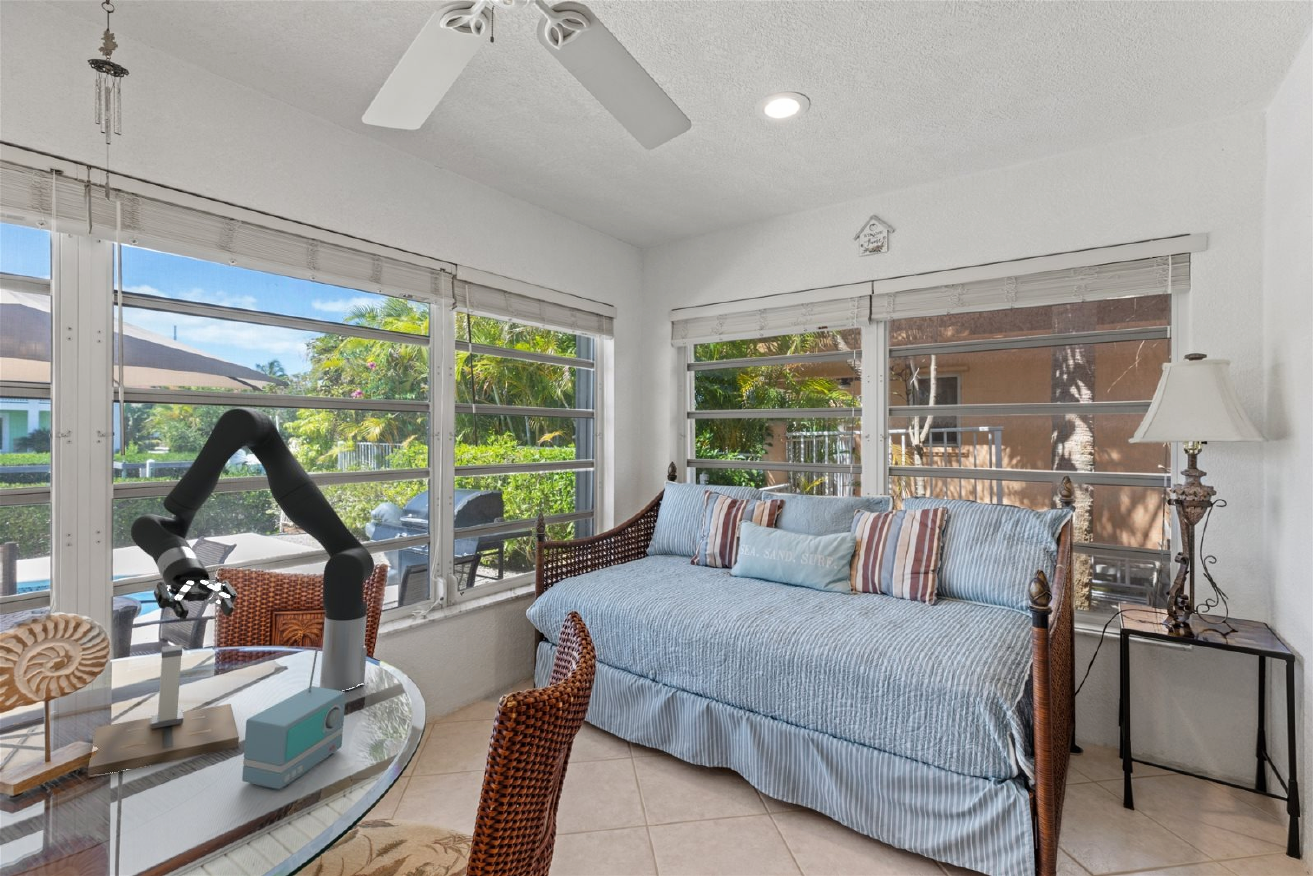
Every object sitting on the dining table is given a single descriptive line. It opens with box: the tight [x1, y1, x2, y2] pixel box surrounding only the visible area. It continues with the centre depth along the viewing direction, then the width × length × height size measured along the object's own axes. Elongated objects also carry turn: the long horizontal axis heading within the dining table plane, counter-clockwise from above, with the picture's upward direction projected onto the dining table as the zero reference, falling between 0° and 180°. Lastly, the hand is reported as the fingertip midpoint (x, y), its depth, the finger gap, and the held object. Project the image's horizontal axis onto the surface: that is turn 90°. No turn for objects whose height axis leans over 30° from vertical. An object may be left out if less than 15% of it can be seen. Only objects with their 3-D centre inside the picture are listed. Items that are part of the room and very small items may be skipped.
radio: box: [241, 648, 346, 790], centre depth 118 cm, size 16×9×20 cm, turn 168°
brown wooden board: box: [87, 703, 240, 777], centre depth 124 cm, size 22×17×2 cm
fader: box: [150, 644, 184, 729], centre depth 127 cm, size 5×4×15 cm
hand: (208, 614), depth 134 cm, fingers open, 8 cm apart
